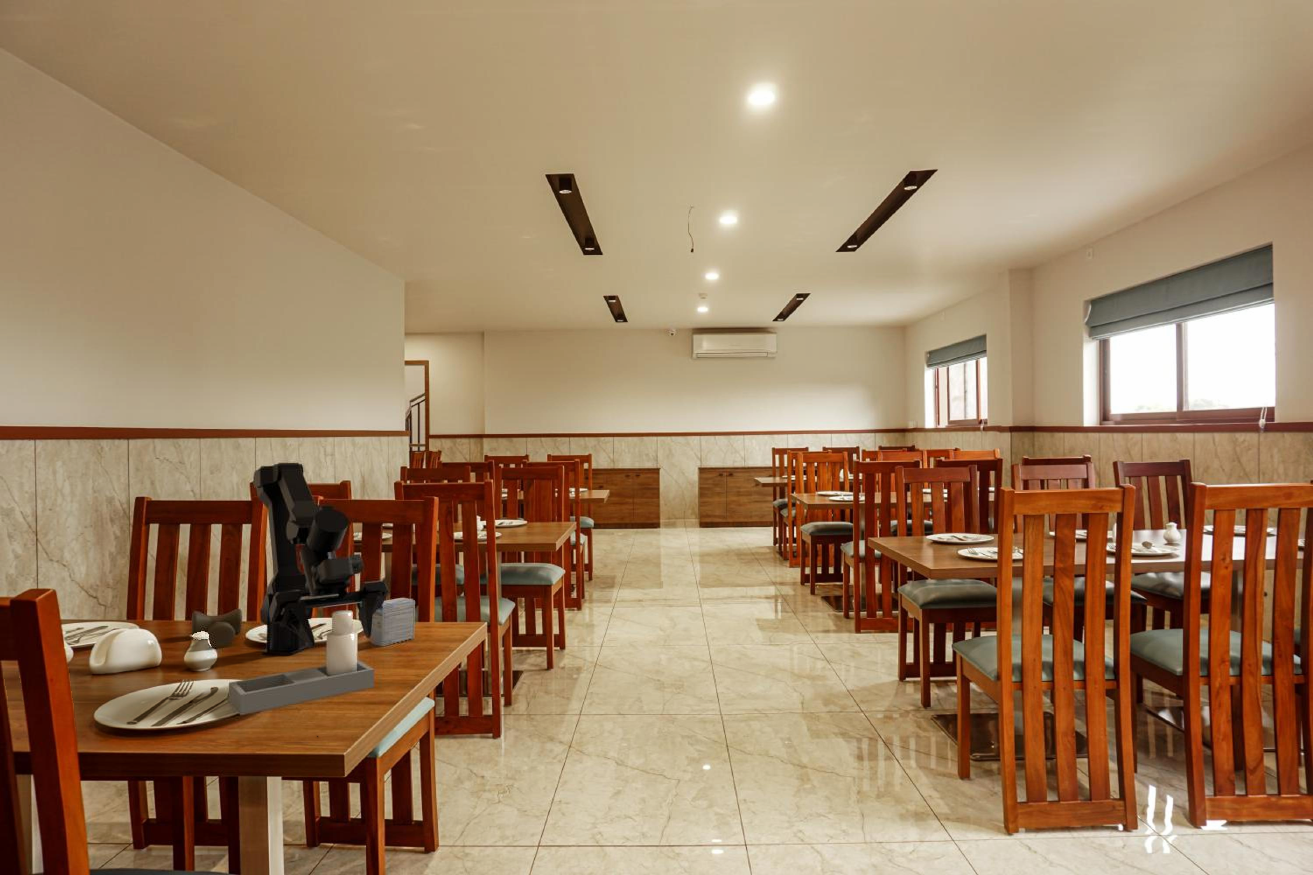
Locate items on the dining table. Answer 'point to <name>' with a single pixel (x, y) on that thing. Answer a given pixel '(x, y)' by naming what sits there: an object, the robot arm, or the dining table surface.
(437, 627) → the dining table surface
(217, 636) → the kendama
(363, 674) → the caddy
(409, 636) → the medicine box
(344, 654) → the white stepped cylinder
